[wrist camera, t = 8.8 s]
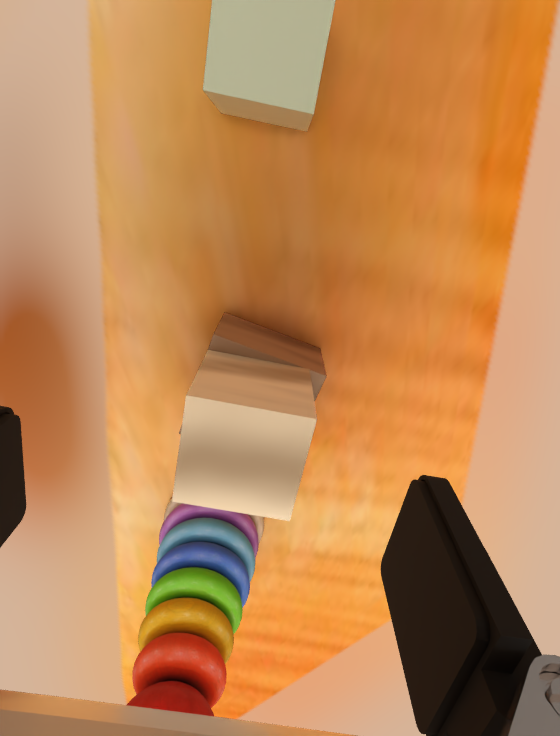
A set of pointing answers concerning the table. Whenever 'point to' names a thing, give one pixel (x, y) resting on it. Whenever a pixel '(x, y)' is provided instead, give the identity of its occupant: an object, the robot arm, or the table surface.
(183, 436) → the maple block
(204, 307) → the table surface
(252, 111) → the sage block
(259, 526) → the stacking toy
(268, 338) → the walnut base
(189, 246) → the table surface
